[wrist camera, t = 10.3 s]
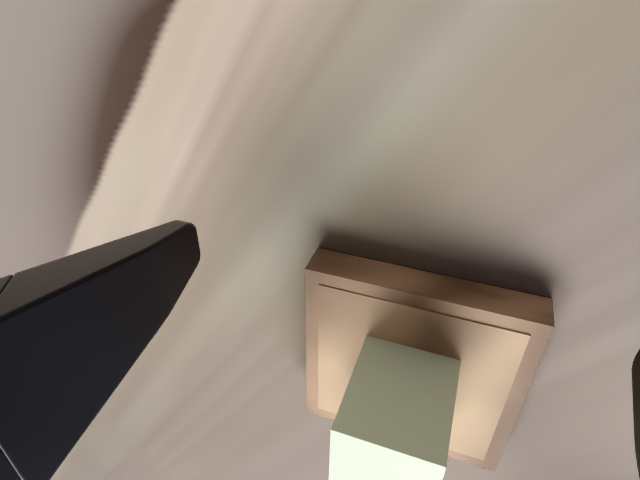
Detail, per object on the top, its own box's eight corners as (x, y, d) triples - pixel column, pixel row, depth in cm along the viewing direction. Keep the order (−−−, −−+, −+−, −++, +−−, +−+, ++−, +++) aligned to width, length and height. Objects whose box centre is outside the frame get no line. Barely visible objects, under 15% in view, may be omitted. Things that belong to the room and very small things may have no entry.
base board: (552, 298, 22) (554, 327, 21) (496, 442, 29) (494, 472, 28) (318, 247, 26) (304, 269, 24) (316, 387, 33) (305, 411, 31)
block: (461, 360, 24) (446, 467, 19) (445, 419, 27) (428, 525, 22) (366, 335, 25) (330, 429, 20) (360, 394, 28) (328, 488, 23)
